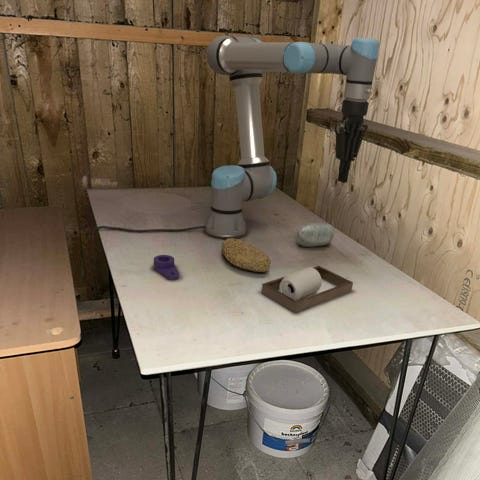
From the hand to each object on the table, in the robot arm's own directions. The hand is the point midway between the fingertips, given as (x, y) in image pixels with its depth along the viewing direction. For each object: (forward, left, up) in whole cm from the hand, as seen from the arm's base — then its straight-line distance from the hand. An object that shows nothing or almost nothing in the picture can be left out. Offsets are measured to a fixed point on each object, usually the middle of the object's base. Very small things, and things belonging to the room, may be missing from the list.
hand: (342, 181), depth 150 cm
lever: (-51, -23, -27) cm, 62 cm away
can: (-7, -25, -23) cm, 34 cm away
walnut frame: (-8, -27, -26) cm, 39 cm away
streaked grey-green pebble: (-5, +11, -27) cm, 29 cm away
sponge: (-28, -12, -27) cm, 40 cm away
